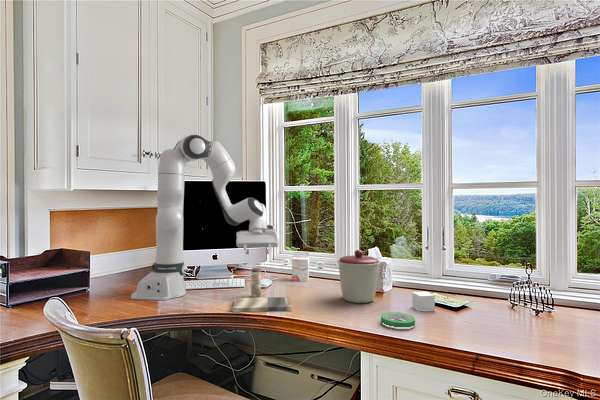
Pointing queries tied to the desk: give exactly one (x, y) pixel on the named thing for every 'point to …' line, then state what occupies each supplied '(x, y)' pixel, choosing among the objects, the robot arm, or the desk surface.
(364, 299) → the canister
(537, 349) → the desk surface
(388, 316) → the tape roll
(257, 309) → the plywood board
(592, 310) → the desk surface
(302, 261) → the ink cartridge box
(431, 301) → the adhesive note
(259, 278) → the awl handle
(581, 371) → the desk surface
